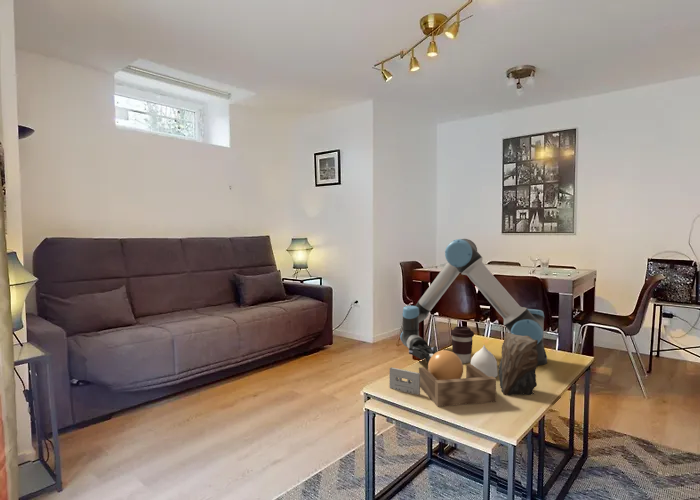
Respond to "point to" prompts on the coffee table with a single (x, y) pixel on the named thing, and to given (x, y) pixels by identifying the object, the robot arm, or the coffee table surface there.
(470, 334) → the coffee cup
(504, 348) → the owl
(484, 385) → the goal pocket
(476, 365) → the teardrop
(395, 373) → the cassette
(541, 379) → the coffee table surface
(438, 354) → the ball
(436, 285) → the robot arm
